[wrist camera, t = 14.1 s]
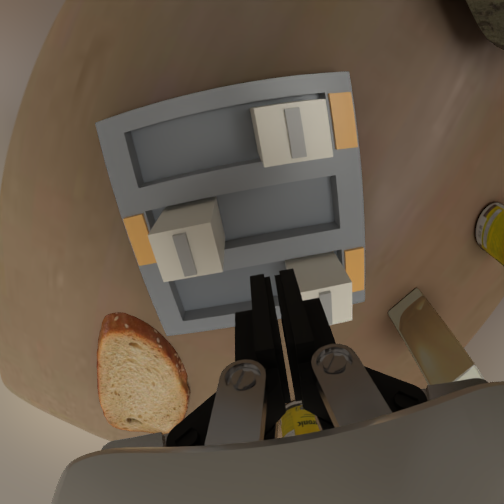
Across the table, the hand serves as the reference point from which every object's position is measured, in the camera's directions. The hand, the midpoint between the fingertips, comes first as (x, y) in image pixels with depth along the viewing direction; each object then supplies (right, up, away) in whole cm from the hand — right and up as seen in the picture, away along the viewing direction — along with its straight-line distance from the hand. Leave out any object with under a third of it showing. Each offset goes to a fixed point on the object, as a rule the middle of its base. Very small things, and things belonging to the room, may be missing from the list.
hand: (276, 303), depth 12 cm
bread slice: (-15, -14, +23) cm, 31 cm away
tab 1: (-5, +4, +12) cm, 14 cm away
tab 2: (+4, 0, +14) cm, 15 cm away
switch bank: (-2, +6, +13) cm, 14 cm away
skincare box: (+17, -5, +19) cm, 26 cm away
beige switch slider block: (+1, +11, +9) cm, 14 cm away
